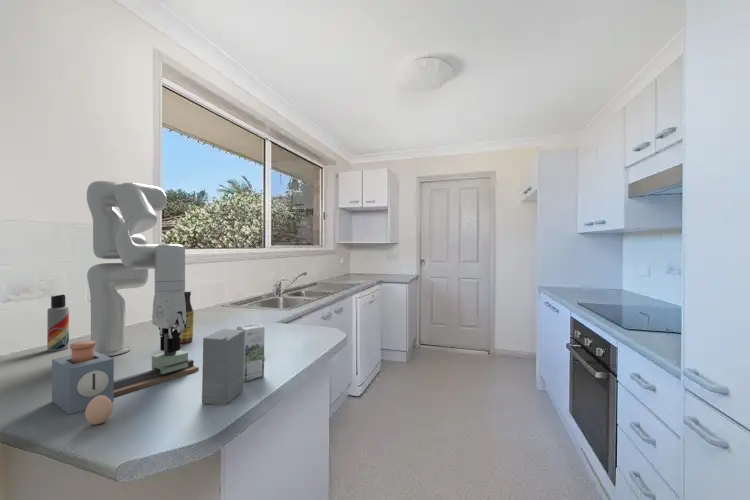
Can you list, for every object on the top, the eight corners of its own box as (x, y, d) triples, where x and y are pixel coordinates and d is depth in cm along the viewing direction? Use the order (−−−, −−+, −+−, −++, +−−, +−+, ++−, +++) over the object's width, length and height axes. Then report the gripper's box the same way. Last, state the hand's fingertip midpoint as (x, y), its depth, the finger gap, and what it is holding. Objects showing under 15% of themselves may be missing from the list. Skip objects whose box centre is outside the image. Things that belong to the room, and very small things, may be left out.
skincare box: (220, 390, 85) (220, 328, 85) (246, 391, 84) (246, 328, 85) (199, 405, 77) (199, 336, 77) (228, 406, 76) (228, 337, 76)
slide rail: (102, 390, 85) (102, 380, 85) (185, 366, 103) (185, 357, 103) (114, 396, 81) (114, 386, 81) (198, 370, 99) (198, 361, 99)
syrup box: (255, 371, 98) (255, 322, 98) (264, 377, 94) (264, 325, 94) (236, 376, 94) (236, 325, 94) (244, 382, 90) (244, 329, 90)
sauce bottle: (184, 344, 128) (184, 292, 128) (170, 343, 129) (170, 292, 129) (197, 339, 134) (197, 290, 134) (183, 339, 135) (183, 290, 135)
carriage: (151, 370, 94) (151, 334, 94) (177, 363, 100) (177, 329, 100) (162, 374, 91) (162, 337, 91) (188, 366, 97) (188, 332, 97)
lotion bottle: (58, 351, 119) (58, 295, 119) (42, 351, 119) (42, 295, 119) (73, 347, 124) (73, 293, 124) (58, 347, 124) (58, 293, 125)
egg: (106, 427, 67) (106, 399, 67) (80, 430, 66) (80, 401, 66) (116, 416, 72) (116, 390, 72) (92, 419, 70) (92, 392, 70)
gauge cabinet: (52, 401, 79) (52, 359, 79) (94, 389, 86) (94, 350, 86) (70, 415, 72) (71, 369, 72) (115, 401, 79) (115, 359, 79)
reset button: (66, 364, 78) (66, 343, 78) (91, 358, 82) (91, 339, 82) (73, 367, 76) (73, 346, 76) (98, 362, 80) (98, 342, 80)
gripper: (142, 286, 97) (142, 349, 97) (171, 289, 88) (171, 358, 88) (169, 284, 103) (169, 343, 103) (199, 287, 95) (199, 351, 95)
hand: (170, 349), depth 96 cm, fingers closed on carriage, 3 cm apart
